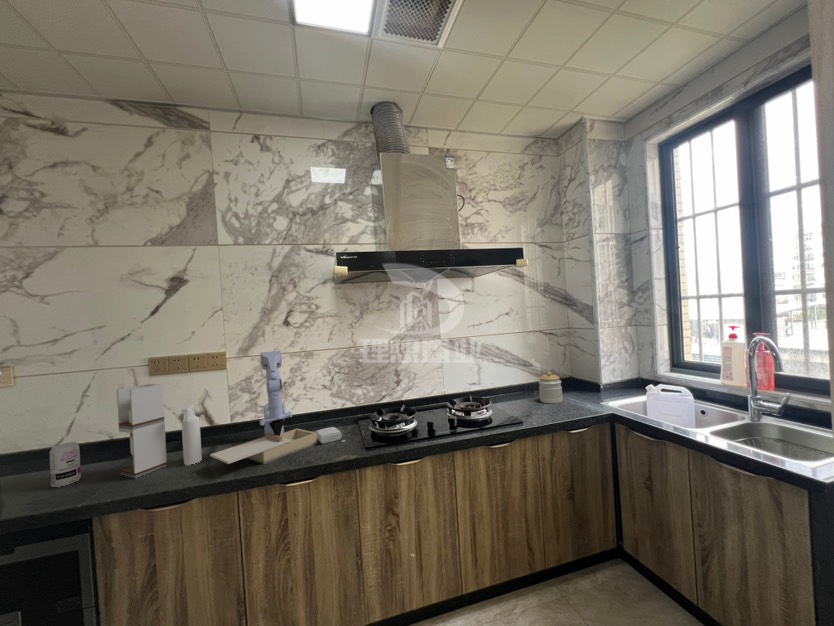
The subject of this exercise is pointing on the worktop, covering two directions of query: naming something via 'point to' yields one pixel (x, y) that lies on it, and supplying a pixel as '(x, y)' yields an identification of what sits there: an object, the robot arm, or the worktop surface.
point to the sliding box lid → (249, 448)
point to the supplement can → (65, 464)
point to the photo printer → (328, 435)
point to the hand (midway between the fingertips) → (277, 436)
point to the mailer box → (287, 446)
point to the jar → (550, 389)
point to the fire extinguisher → (191, 436)
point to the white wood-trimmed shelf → (143, 427)
